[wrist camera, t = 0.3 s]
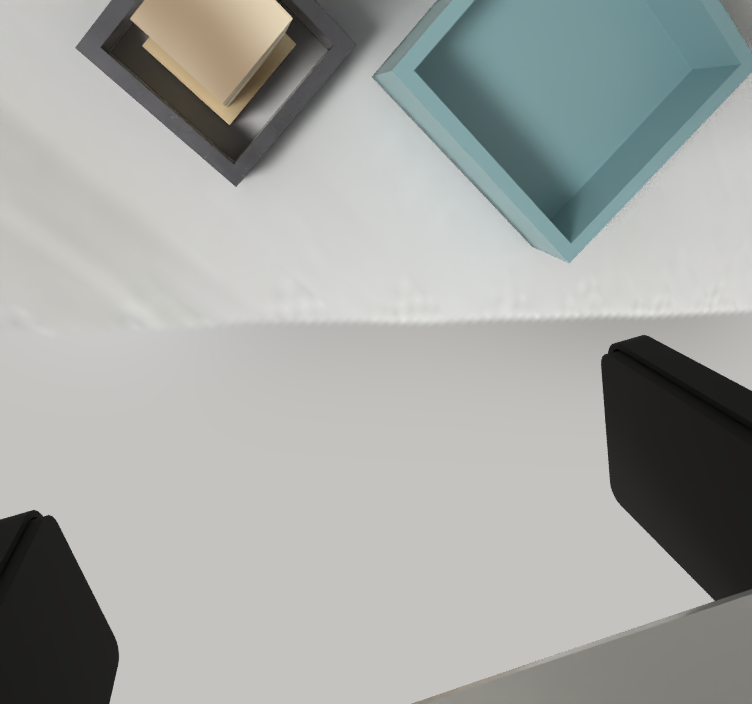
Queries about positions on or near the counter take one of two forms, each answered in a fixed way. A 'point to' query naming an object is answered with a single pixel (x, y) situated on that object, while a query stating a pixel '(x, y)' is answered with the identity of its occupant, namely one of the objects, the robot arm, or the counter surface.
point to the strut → (217, 46)
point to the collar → (99, 53)
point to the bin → (564, 99)
